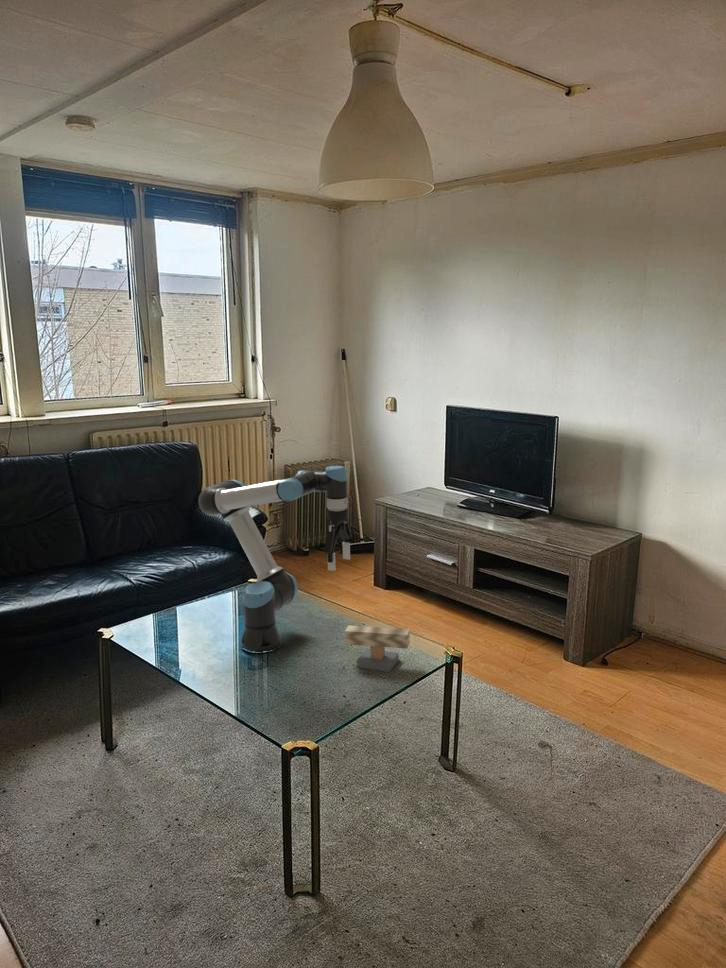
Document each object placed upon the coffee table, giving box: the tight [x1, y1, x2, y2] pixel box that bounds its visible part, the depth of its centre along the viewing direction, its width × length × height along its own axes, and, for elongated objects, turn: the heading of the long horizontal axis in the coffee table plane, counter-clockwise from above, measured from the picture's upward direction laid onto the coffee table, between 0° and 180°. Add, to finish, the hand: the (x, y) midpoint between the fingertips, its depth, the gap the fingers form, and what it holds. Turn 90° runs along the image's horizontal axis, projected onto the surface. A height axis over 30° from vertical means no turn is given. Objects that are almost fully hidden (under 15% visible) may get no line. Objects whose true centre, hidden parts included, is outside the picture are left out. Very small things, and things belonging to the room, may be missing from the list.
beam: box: [344, 624, 411, 650], centre depth 240 cm, size 22×5×5 cm, turn 78°
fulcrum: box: [356, 646, 399, 673], centre depth 241 cm, size 12×10×8 cm
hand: (339, 564), depth 253 cm, fingers open, 13 cm apart
